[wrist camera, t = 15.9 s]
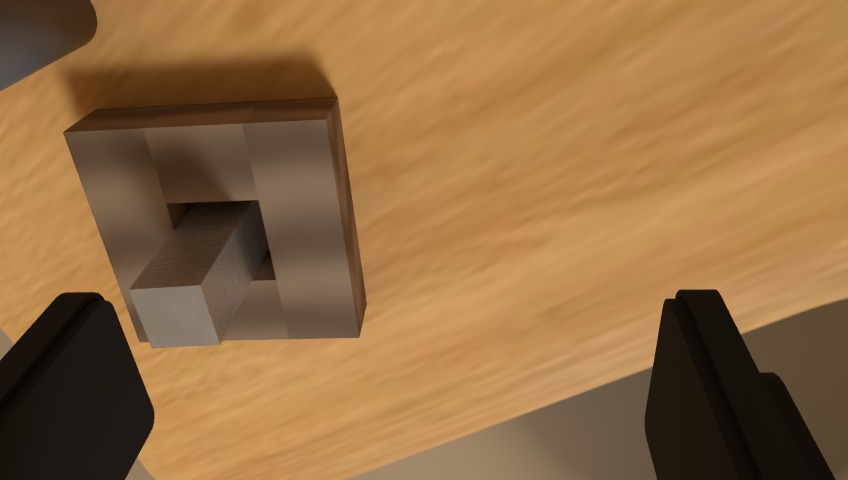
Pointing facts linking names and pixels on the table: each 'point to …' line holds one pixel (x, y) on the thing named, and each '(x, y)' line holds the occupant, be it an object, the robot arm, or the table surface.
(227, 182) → the bore block
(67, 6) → the round bit
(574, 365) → the table surface
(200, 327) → the square bit
